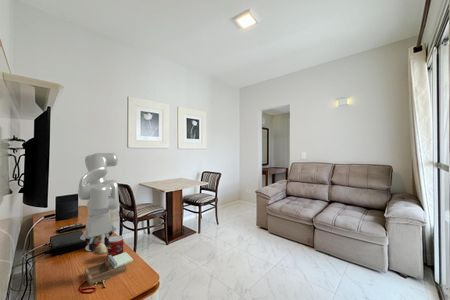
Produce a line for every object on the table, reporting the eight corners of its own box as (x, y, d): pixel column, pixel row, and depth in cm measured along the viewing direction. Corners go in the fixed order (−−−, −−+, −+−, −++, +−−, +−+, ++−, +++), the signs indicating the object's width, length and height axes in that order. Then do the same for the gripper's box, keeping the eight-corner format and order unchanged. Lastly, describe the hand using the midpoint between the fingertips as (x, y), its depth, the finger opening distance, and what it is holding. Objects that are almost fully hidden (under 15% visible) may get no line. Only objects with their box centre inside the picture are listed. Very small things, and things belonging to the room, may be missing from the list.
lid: (108, 259, 99) (108, 255, 99) (125, 253, 105) (125, 249, 105) (114, 268, 91) (114, 263, 92) (133, 260, 98) (133, 256, 98)
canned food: (109, 255, 110) (109, 236, 110) (124, 252, 112) (124, 234, 113) (105, 262, 102) (106, 242, 103) (122, 259, 105) (122, 239, 105)
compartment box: (84, 274, 92) (84, 268, 92) (118, 261, 103) (118, 256, 103) (89, 286, 84) (89, 279, 84) (125, 271, 95) (125, 265, 95)
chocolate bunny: (103, 247, 96) (103, 228, 97) (108, 252, 91) (108, 232, 91) (90, 251, 92) (91, 231, 92) (94, 257, 87) (95, 235, 87)
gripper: (116, 206, 101) (115, 240, 100) (76, 213, 88) (75, 252, 88) (120, 209, 96) (120, 244, 95) (78, 217, 83) (78, 258, 83)
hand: (99, 248), depth 92 cm, fingers closed on chocolate bunny, 5 cm apart
